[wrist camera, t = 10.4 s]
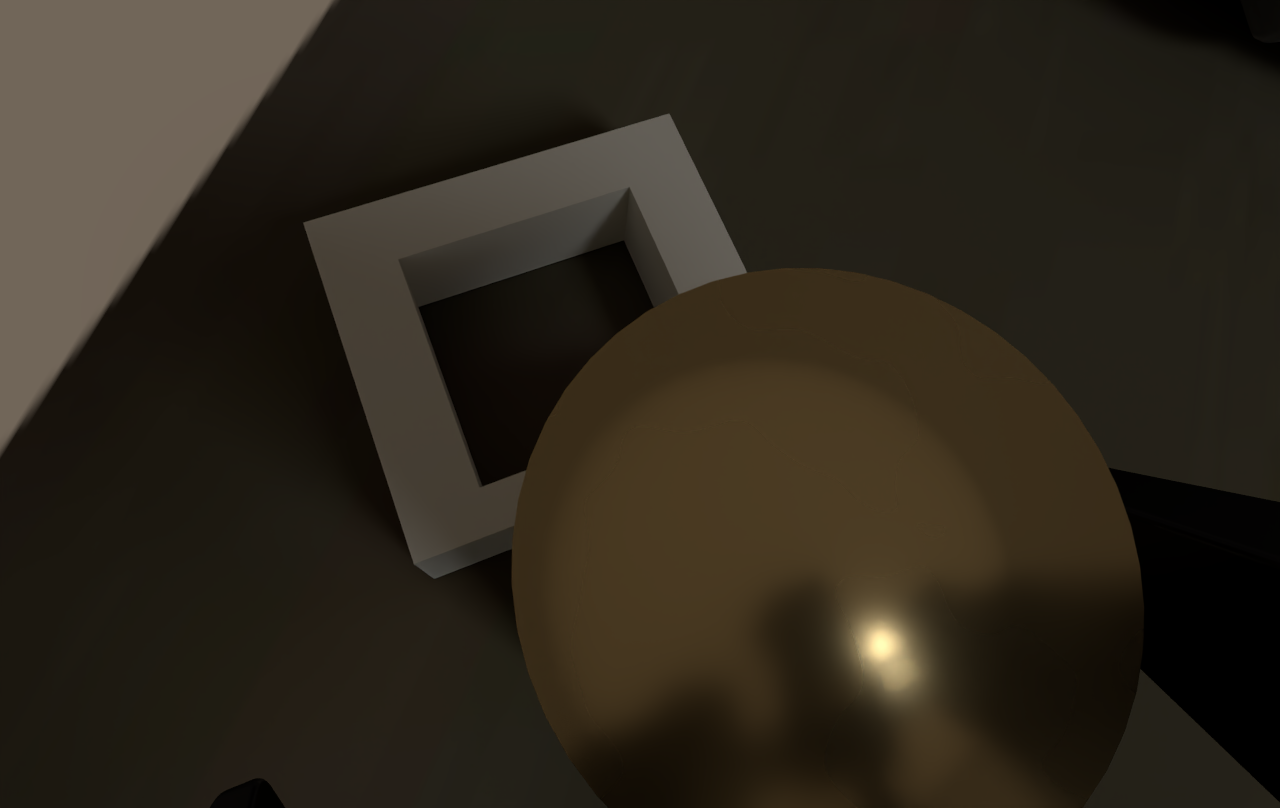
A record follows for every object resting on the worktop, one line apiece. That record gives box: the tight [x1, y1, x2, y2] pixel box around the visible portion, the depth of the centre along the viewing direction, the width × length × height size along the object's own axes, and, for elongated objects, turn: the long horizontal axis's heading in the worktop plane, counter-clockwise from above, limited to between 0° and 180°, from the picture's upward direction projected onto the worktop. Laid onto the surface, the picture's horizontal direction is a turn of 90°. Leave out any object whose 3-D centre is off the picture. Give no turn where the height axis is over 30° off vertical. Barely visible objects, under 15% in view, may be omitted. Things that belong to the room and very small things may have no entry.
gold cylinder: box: [512, 268, 1144, 808], centre depth 13 cm, size 5×5×13 cm
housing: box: [303, 114, 747, 579], centre depth 20 cm, size 8×9×2 cm
